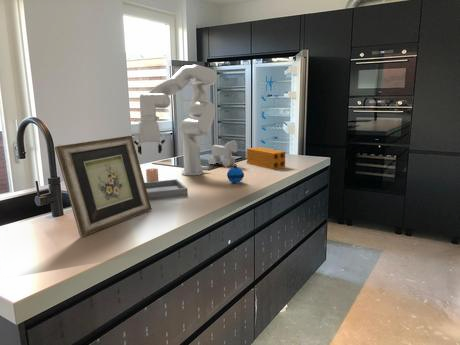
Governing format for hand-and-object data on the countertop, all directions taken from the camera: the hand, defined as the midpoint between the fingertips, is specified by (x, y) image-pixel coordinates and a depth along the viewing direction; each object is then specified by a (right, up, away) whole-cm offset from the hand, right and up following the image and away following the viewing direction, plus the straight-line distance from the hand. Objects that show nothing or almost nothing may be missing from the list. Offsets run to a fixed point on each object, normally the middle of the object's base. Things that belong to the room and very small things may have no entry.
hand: (150, 153), depth 188 cm
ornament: (+43, -15, +4) cm, 46 cm away
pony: (+36, -5, +51) cm, 63 cm away
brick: (+63, -6, +49) cm, 80 cm away
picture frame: (-4, -28, -49) cm, 57 cm away
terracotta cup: (+1, -16, +4) cm, 17 cm away
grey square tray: (+8, -19, -12) cm, 24 cm away
